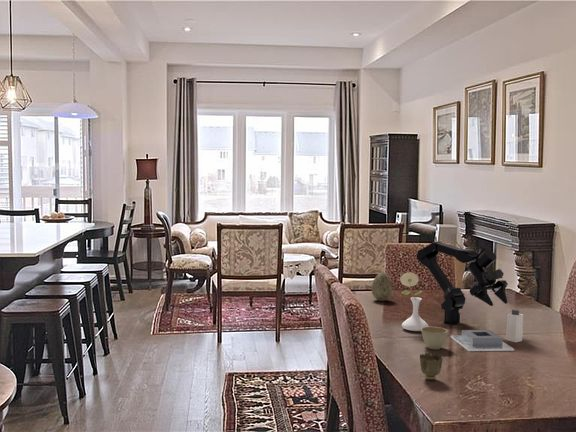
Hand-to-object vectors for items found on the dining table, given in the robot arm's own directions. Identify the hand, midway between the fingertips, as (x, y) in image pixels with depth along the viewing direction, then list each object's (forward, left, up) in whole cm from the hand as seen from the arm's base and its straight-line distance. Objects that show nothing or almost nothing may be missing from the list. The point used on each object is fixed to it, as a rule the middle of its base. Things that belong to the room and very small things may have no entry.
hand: (499, 304), depth 264 cm
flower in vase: (-35, -5, -14) cm, 38 cm away
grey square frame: (-6, -16, -13) cm, 21 cm away
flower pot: (-23, -29, -14) cm, 39 cm away
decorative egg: (-60, +47, -14) cm, 77 cm away
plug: (+6, -5, -13) cm, 16 cm away
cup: (-19, -67, -14) cm, 71 cm away
